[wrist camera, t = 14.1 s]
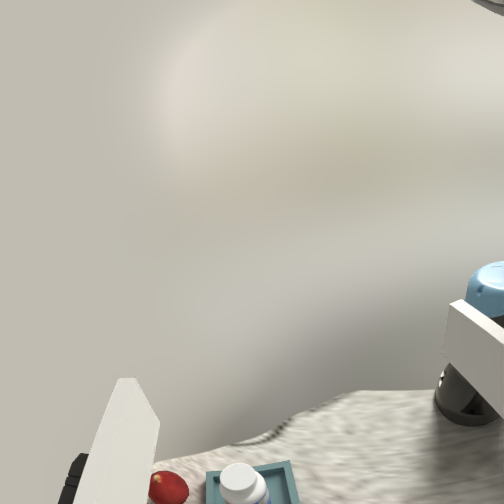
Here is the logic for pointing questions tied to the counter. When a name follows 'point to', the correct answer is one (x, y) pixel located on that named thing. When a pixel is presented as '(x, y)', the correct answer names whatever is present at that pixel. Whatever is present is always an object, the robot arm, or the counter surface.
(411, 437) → the counter surface
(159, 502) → the onion
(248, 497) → the pill bottle
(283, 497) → the tray
